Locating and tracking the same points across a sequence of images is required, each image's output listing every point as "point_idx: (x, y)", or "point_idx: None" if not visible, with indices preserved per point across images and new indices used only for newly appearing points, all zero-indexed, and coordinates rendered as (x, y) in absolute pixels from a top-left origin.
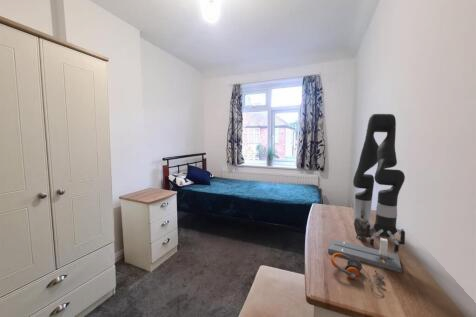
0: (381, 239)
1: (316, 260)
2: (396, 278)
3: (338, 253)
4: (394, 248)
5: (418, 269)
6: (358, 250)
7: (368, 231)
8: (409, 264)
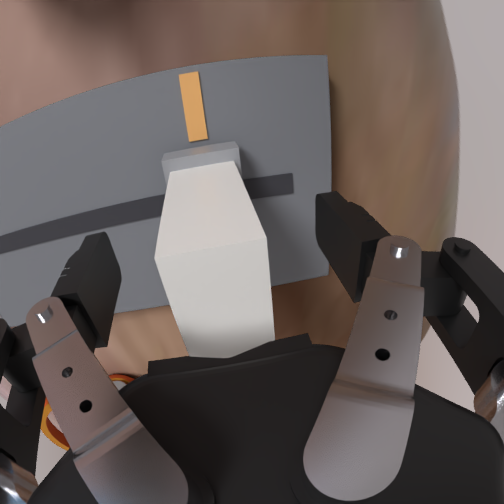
0: (185, 314)
1: (8, 388)
2: (288, 323)
3: (43, 417)
4: (331, 250)
5: (414, 143)
6: (34, 239)
7: (28, 442)
8: (380, 103)
